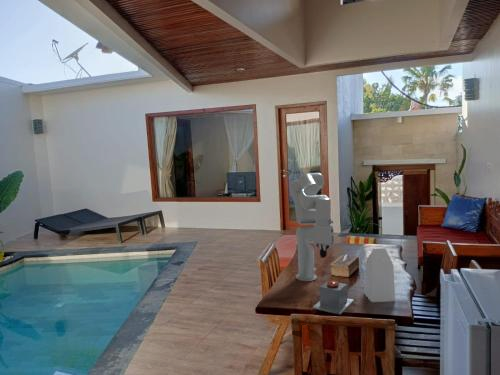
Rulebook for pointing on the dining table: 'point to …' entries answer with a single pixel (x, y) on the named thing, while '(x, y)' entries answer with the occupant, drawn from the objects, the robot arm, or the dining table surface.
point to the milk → (379, 276)
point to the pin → (332, 284)
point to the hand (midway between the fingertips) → (323, 257)
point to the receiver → (333, 299)
